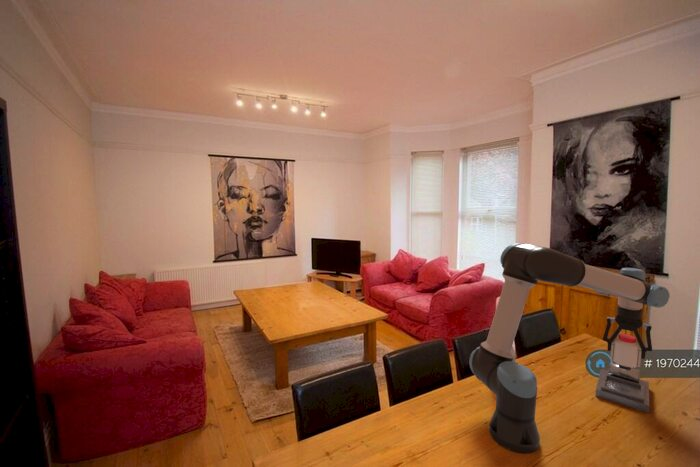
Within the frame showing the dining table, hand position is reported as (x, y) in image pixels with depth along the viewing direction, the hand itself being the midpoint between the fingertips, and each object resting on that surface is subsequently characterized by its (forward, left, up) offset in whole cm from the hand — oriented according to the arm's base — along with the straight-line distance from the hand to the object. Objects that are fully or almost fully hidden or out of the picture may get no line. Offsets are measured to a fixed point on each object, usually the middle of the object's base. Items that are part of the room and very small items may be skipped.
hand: (624, 362), depth 132 cm
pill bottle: (0, 0, 0) cm, 0 cm away
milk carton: (-25, +39, -14) cm, 49 cm away
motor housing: (+3, 0, -14) cm, 15 cm away
